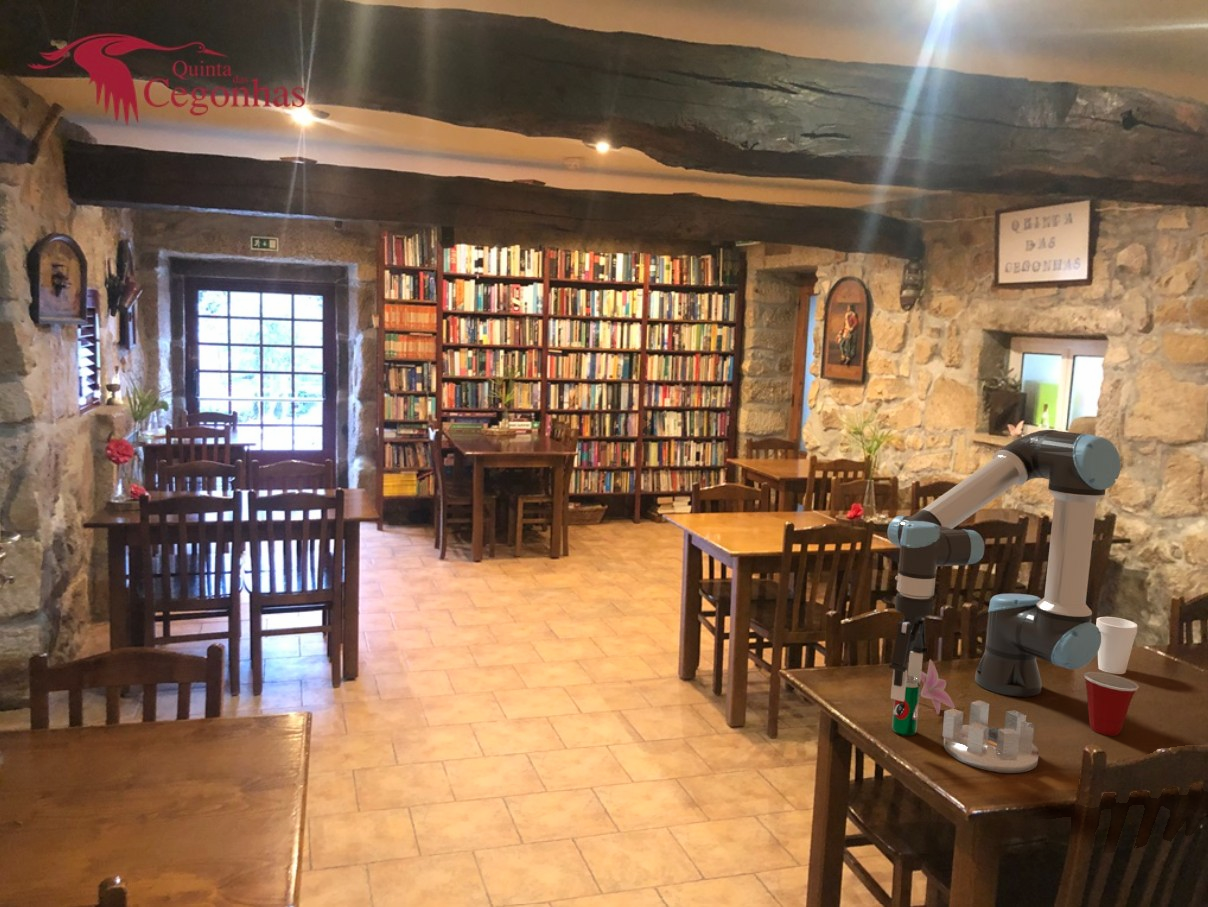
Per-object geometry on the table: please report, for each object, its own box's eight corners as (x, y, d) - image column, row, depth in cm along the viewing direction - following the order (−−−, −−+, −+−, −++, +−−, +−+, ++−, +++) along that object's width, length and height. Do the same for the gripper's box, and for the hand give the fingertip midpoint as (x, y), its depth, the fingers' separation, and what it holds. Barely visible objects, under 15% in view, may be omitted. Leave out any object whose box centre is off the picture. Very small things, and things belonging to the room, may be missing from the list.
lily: (910, 719, 207) (934, 690, 203) (887, 682, 217) (910, 653, 213) (949, 729, 211) (974, 700, 208) (926, 692, 221) (949, 664, 218)
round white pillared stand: (977, 727, 201) (980, 694, 200) (1055, 759, 186) (1059, 724, 185) (925, 744, 191) (928, 710, 190) (1003, 781, 176) (1007, 744, 175)
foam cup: (1139, 677, 237) (1144, 628, 235) (1103, 675, 237) (1108, 627, 235) (1119, 664, 246) (1124, 617, 245) (1085, 662, 246) (1089, 616, 245)
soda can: (917, 738, 195) (922, 684, 194) (893, 735, 196) (897, 681, 195) (914, 728, 200) (918, 675, 198) (890, 725, 201) (894, 673, 199)
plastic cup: (1145, 738, 199) (1151, 685, 197) (1105, 743, 196) (1111, 689, 194) (1105, 718, 209) (1110, 668, 208) (1067, 722, 206) (1072, 671, 205)
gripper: (911, 579, 207) (903, 670, 209) (880, 603, 186) (871, 703, 188) (946, 585, 203) (937, 677, 205) (918, 610, 182) (908, 712, 184)
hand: (905, 690), depth 197 cm, fingers open, 13 cm apart
